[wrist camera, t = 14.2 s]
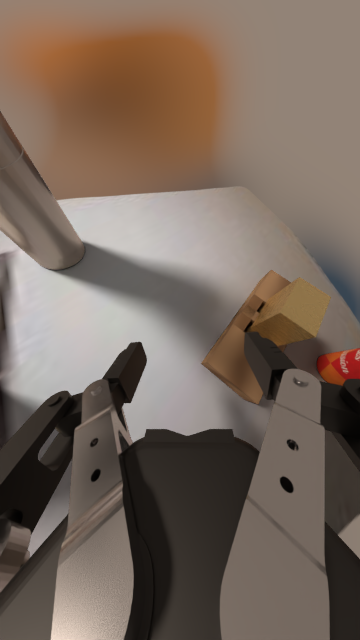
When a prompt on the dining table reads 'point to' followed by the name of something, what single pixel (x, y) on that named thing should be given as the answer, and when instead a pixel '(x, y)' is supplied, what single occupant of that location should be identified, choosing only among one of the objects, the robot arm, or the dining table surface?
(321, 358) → the paper cup
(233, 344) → the brown flat wooden block
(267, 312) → the tan boxy piece
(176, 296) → the dining table surface
